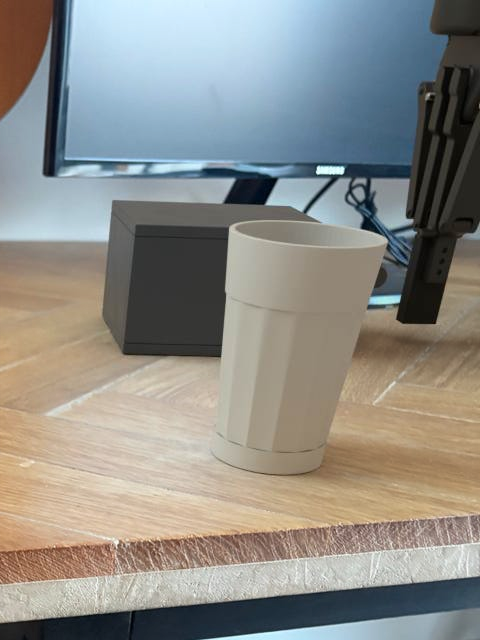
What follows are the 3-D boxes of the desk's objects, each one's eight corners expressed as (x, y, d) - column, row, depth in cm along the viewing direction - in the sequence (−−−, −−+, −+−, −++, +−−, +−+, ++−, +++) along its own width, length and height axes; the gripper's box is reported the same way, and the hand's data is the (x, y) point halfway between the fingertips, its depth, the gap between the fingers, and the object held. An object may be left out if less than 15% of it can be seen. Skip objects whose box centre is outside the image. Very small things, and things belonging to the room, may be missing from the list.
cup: (366, 463, 57) (421, 241, 50) (270, 490, 53) (316, 252, 47) (262, 422, 62) (300, 216, 56) (168, 443, 58) (197, 225, 52)
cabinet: (270, 320, 85) (290, 205, 80) (313, 358, 75) (339, 230, 71) (101, 315, 84) (112, 199, 80) (122, 354, 74) (135, 224, 70)
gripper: (408, -29, 73) (342, 302, 85) (490, -38, 62) (401, 343, 74) (507, -25, 73) (427, 303, 86) (607, -34, 62) (499, 344, 75)
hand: (415, 321), depth 80 cm, fingers closed
